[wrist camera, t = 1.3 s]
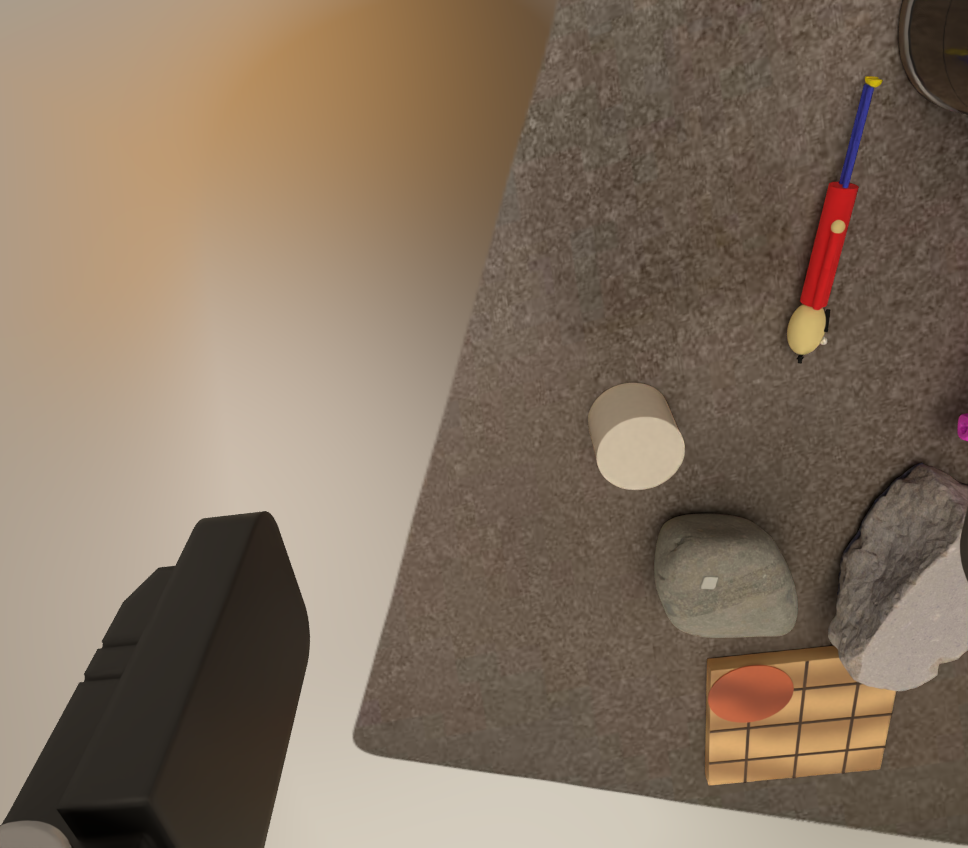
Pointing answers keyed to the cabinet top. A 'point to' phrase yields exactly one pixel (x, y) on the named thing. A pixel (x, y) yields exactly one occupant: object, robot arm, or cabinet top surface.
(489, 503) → the cabinet top surface
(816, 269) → the red screwdriver
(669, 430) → the cream short cylinder
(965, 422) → the pelvis
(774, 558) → the stone
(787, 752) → the board
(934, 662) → the decorative stone
